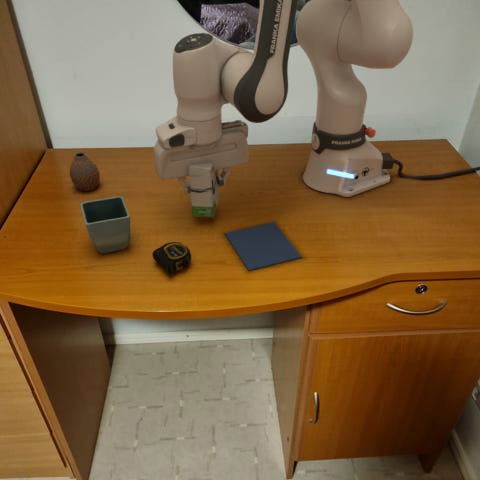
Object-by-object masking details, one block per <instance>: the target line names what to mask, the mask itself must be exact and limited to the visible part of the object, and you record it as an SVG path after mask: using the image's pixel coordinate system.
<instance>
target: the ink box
mask: <svg viewBox="0 0 480 480" xmlns="http://www.w3.org/2000/svg"><path fill="white" fill-rule="evenodd" d="M188 170H189V176H188V181H189V183H190V193H189V194H190V201H191V202H190V203H191V210H192V211H191V213H192V217H193V218H194V217H195V218H214V217H215V213H216V209H217V206H218V203H219V200H220V189H219V185H218V183H217V176H219V170H214V164H213V162H208V163H201V164H194V165H189V167H188Z"/></svg>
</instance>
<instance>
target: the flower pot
mask: <svg viewBox="0 0 480 480" xmlns="http://www.w3.org/2000/svg"><path fill="white" fill-rule="evenodd" d="M79 206H80V208H81V212H82V216H83V221H84V224H85V228H86V230H87V233H88V236H89V238H90V241H91V243H92V245H93V246H94V248H95V249H96V250H97V251H98V252H99V253H101V254H108V253H113V252H118V251H123V250H126V249H127V247H128V245H129V243H130V239H131V215H130V212H129V210H128V207H127V205H126V203H125V200H124V197H123V196H121V195H119V196H112V197H107V198H106V197H105V198H101V199H95V200H88V201H83V202H81V203H80V204H79Z"/></svg>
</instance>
